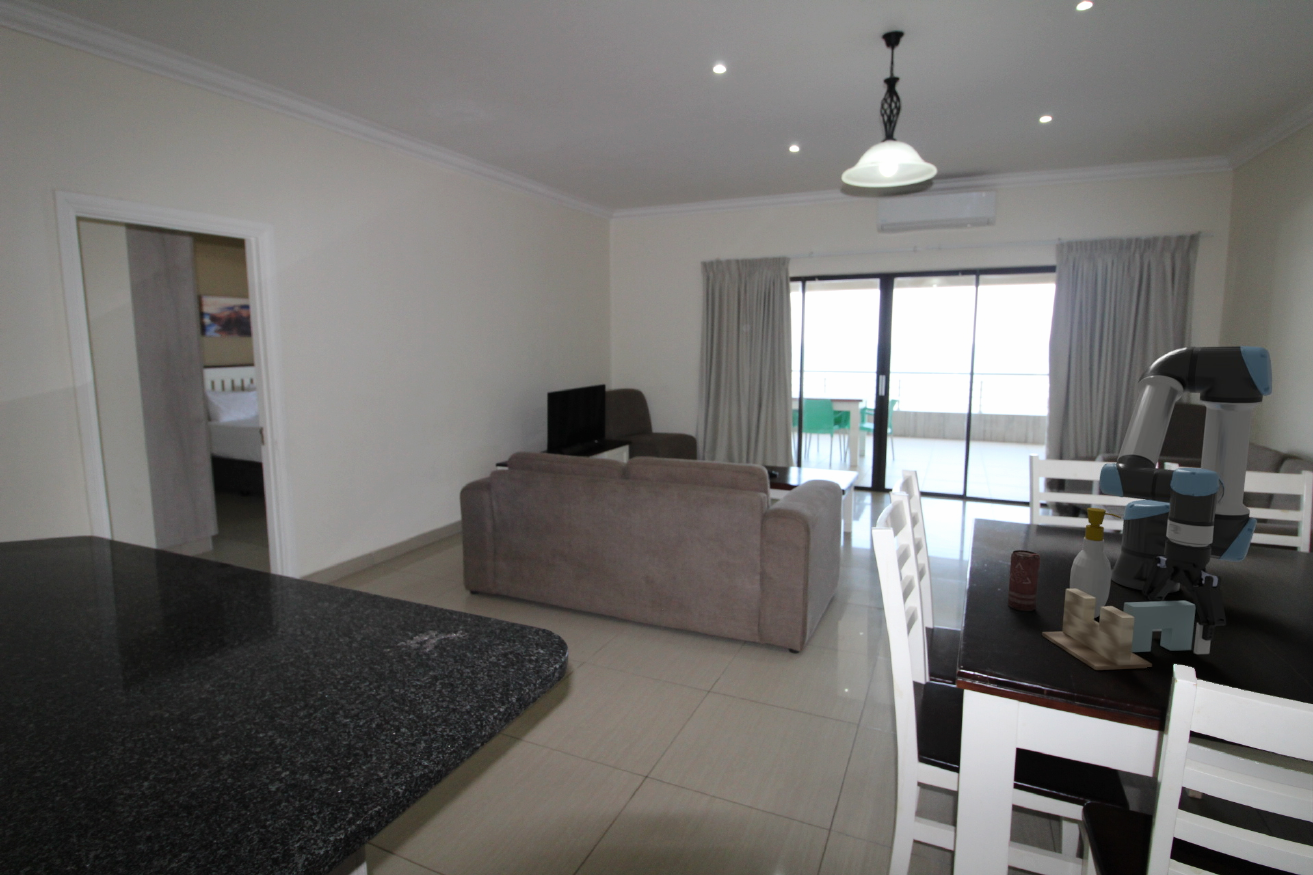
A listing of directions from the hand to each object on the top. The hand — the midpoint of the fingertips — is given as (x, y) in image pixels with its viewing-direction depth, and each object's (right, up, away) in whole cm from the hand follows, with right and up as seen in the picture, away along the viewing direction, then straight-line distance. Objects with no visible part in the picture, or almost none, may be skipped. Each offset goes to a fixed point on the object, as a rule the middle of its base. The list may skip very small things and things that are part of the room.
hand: (1177, 641), depth 138 cm
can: (-21, +1, +22) cm, 31 cm away
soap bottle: (-6, +1, +19) cm, 20 cm away
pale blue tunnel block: (-5, -1, 0) cm, 5 cm away
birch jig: (-19, -2, -1) cm, 19 cm away
